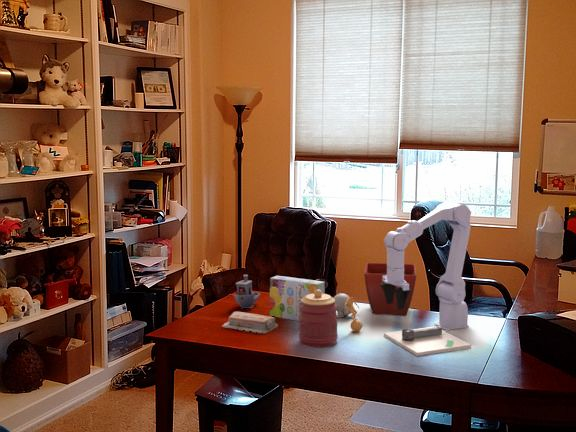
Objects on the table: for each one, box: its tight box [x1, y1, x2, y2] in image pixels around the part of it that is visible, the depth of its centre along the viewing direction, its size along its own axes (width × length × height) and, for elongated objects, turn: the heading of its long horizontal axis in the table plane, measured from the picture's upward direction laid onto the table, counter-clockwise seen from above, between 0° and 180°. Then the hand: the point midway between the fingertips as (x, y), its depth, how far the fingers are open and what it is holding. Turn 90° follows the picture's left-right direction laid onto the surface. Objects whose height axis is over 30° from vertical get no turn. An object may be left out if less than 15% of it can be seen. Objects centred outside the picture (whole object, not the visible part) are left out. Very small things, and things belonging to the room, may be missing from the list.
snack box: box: [269, 275, 326, 322], centre depth 240 cm, size 21×6×15 cm, turn 58°
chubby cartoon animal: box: [333, 292, 356, 319], centre depth 244 cm, size 7×12×8 cm, turn 57°
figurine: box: [345, 296, 363, 333], centre depth 225 cm, size 8×6×12 cm
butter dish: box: [221, 311, 279, 335], centre depth 231 cm, size 18×5×10 cm
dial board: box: [383, 326, 472, 357], centre depth 213 cm, size 20×21×1 cm
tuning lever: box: [401, 326, 443, 341], centre depth 214 cm, size 14×4×3 cm, turn 111°
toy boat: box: [233, 274, 261, 309], centre depth 256 cm, size 15×8×13 cm, turn 158°
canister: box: [298, 290, 339, 348], centre depth 213 cm, size 13×13×18 cm
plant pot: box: [363, 262, 417, 317], centre depth 249 cm, size 19×19×17 cm
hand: (395, 306), depth 219 cm, fingers open, 7 cm apart
